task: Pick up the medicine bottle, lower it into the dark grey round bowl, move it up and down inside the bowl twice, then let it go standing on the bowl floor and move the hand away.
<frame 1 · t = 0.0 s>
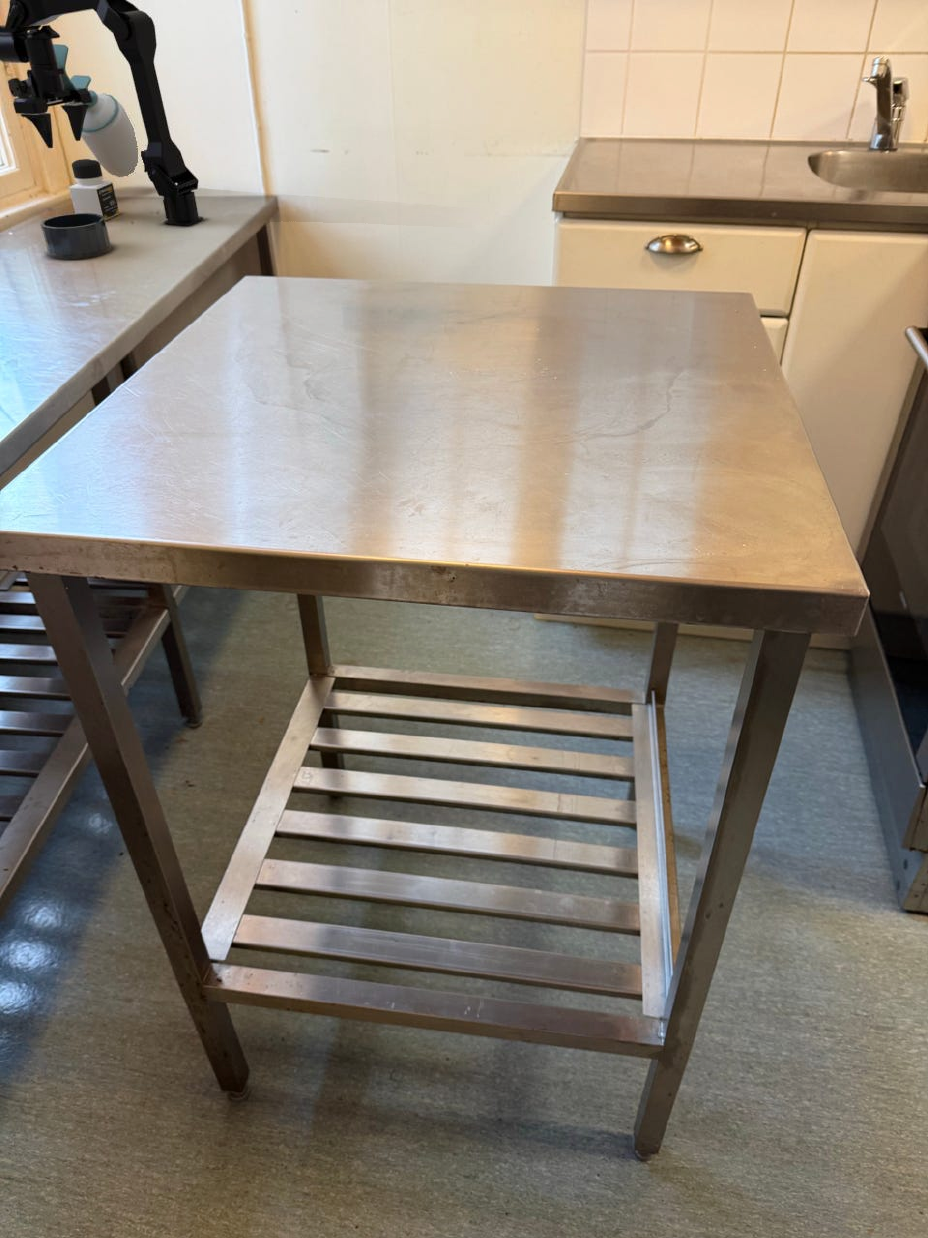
hand: (64, 144, 202), 15 cm above the table, tool pointing down, fingers open, 9 cm apart
medicine bottle: (98, 217, 208), on the table
soap bottle: (129, 163, 226), point 6 cm above the table, touching gripper
dark grey round bowl: (80, 251, 185), on the table
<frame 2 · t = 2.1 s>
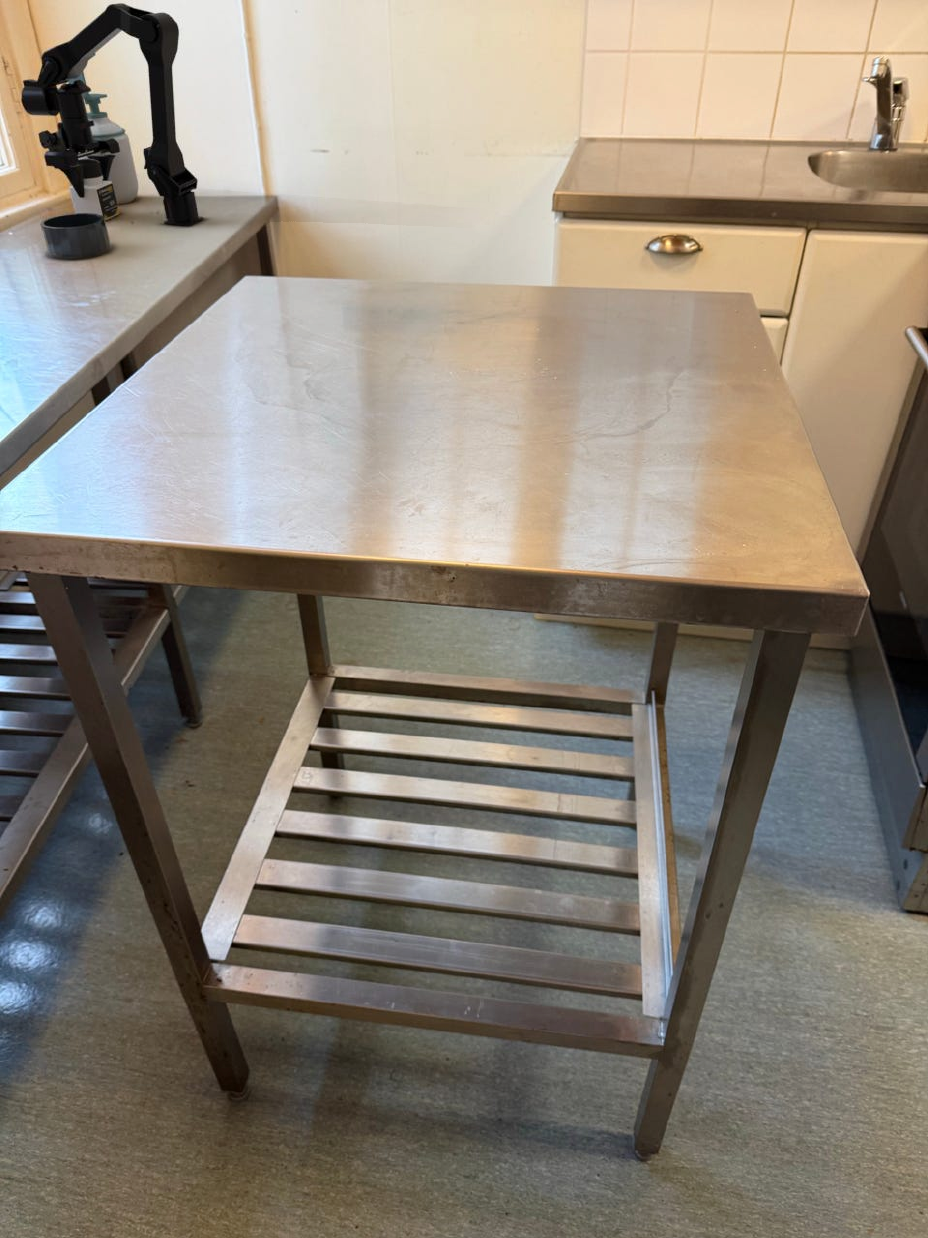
hand: (93, 193, 205), 5 cm above the table, tool pointing down, fingers closed on medicine bottle, 7 cm apart
medicine bottle: (98, 217, 208), on the table, touching gripper
soap bottle: (115, 201, 221), on the table
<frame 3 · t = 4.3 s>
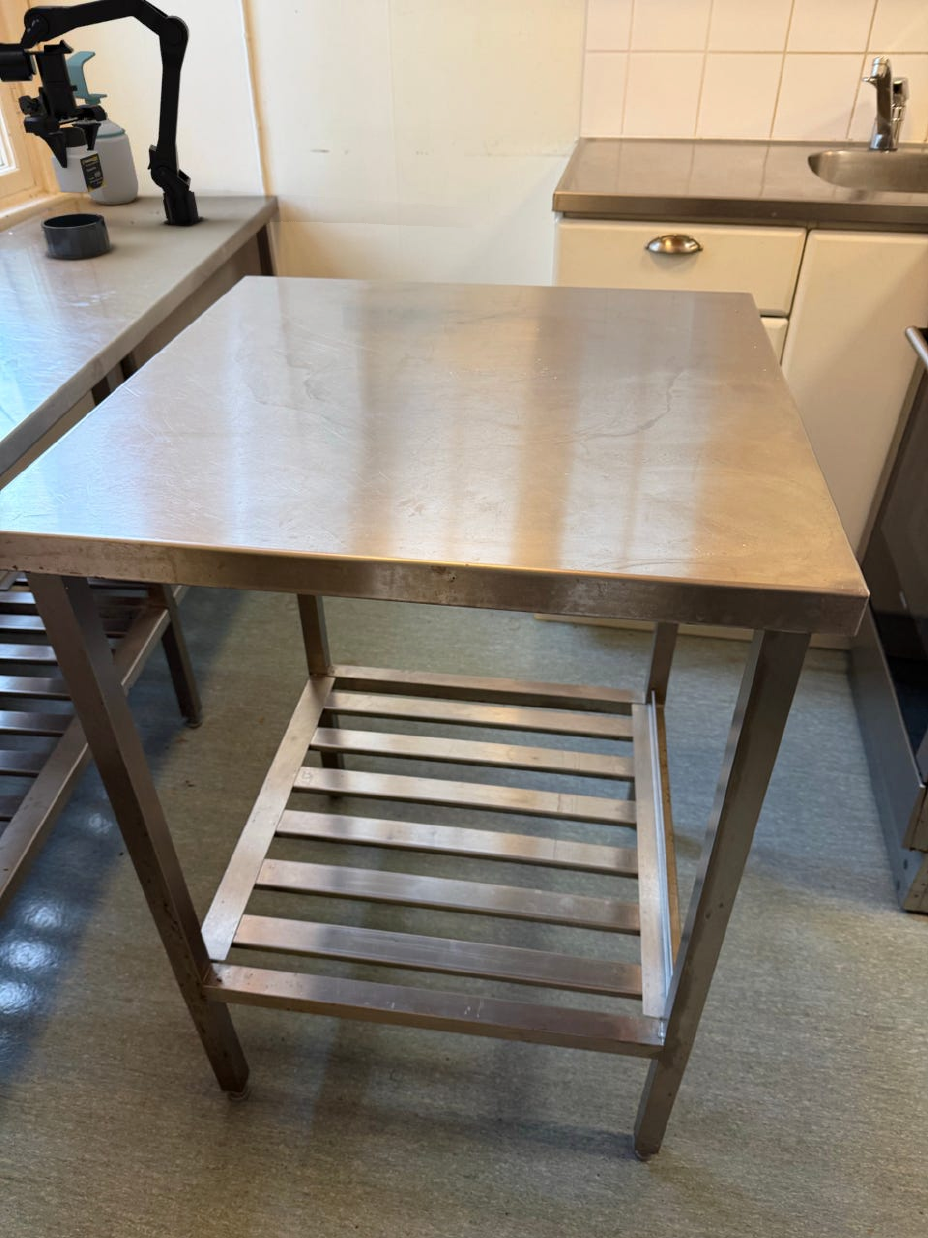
hand: (77, 164, 193), 13 cm above the table, tool pointing down, fingers closed on medicine bottle, 7 cm apart
medicine bottle: (83, 190, 196), point 8 cm above the table, touching gripper
everything else where it was.
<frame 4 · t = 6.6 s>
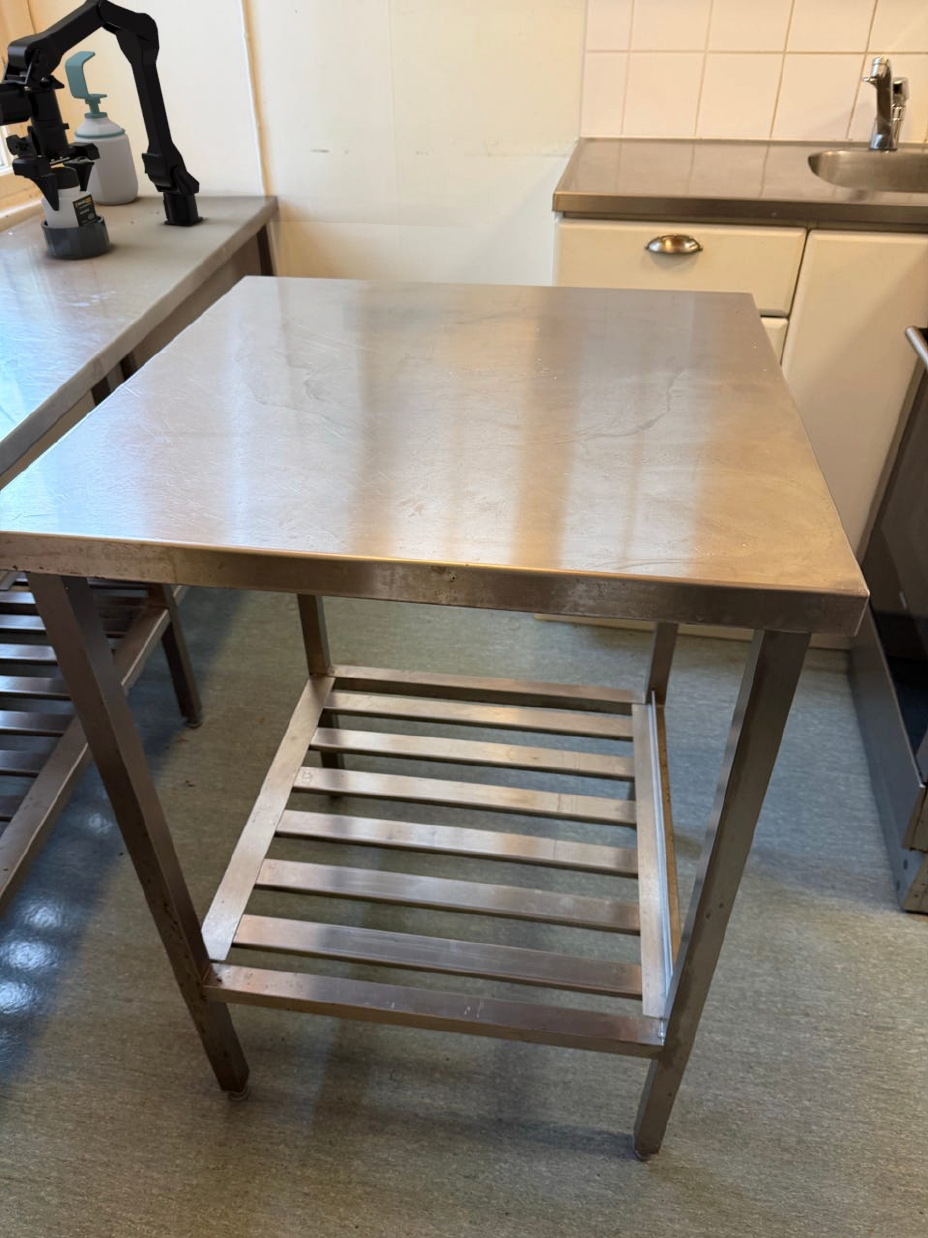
hand: (69, 206, 180), 9 cm above the table, tool pointing down, fingers closed on medicine bottle, 7 cm apart
medicine bottle: (76, 233, 183), point 3 cm above the table, touching gripper
everything else where it was.
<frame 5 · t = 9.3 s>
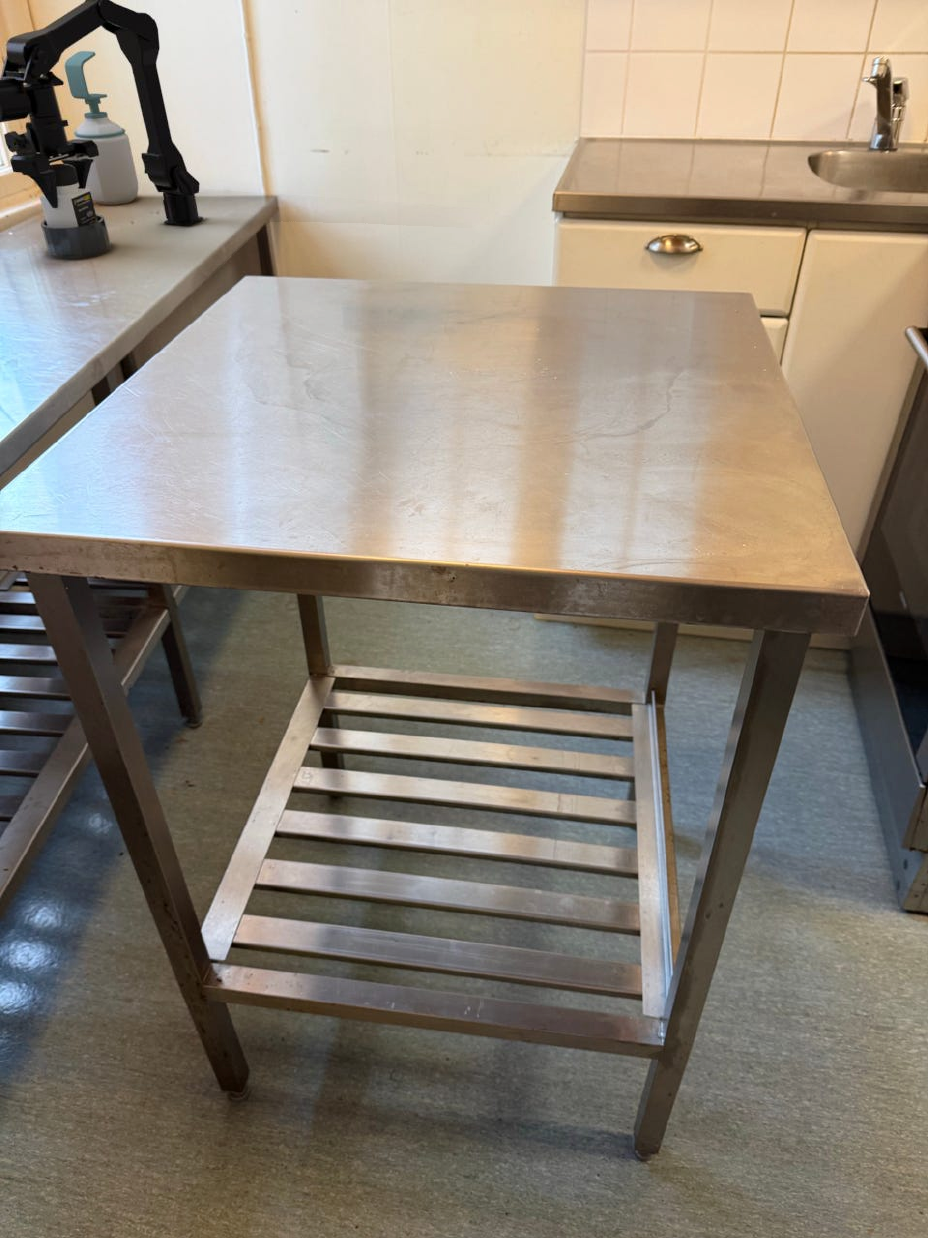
hand: (68, 203, 180), 9 cm above the table, tool pointing down, fingers closed on medicine bottle, 7 cm apart
medicine bottle: (74, 230, 183), point 4 cm above the table, touching gripper
everything else where it was.
when the fingers open (6 cm above the table, at t = 11.3 s): medicine bottle stays where it is, resting on dark grey round bowl.
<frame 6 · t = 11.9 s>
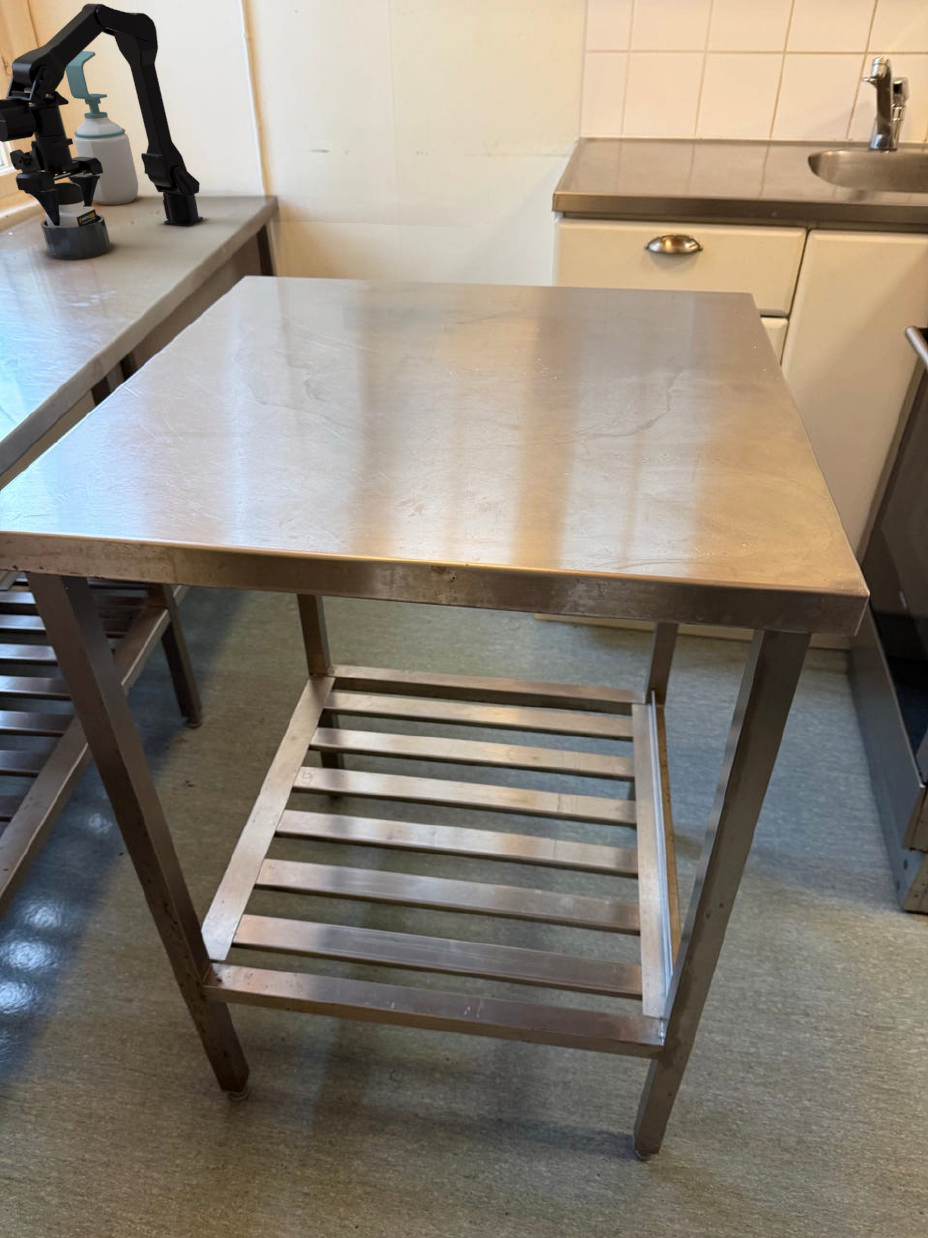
hand: (72, 219, 181), 6 cm above the table, tool pointing down, fingers open, 9 cm apart
medicine bottle: (79, 247, 185), point 1 cm above the table, touching dark grey round bowl
everything else where it was.
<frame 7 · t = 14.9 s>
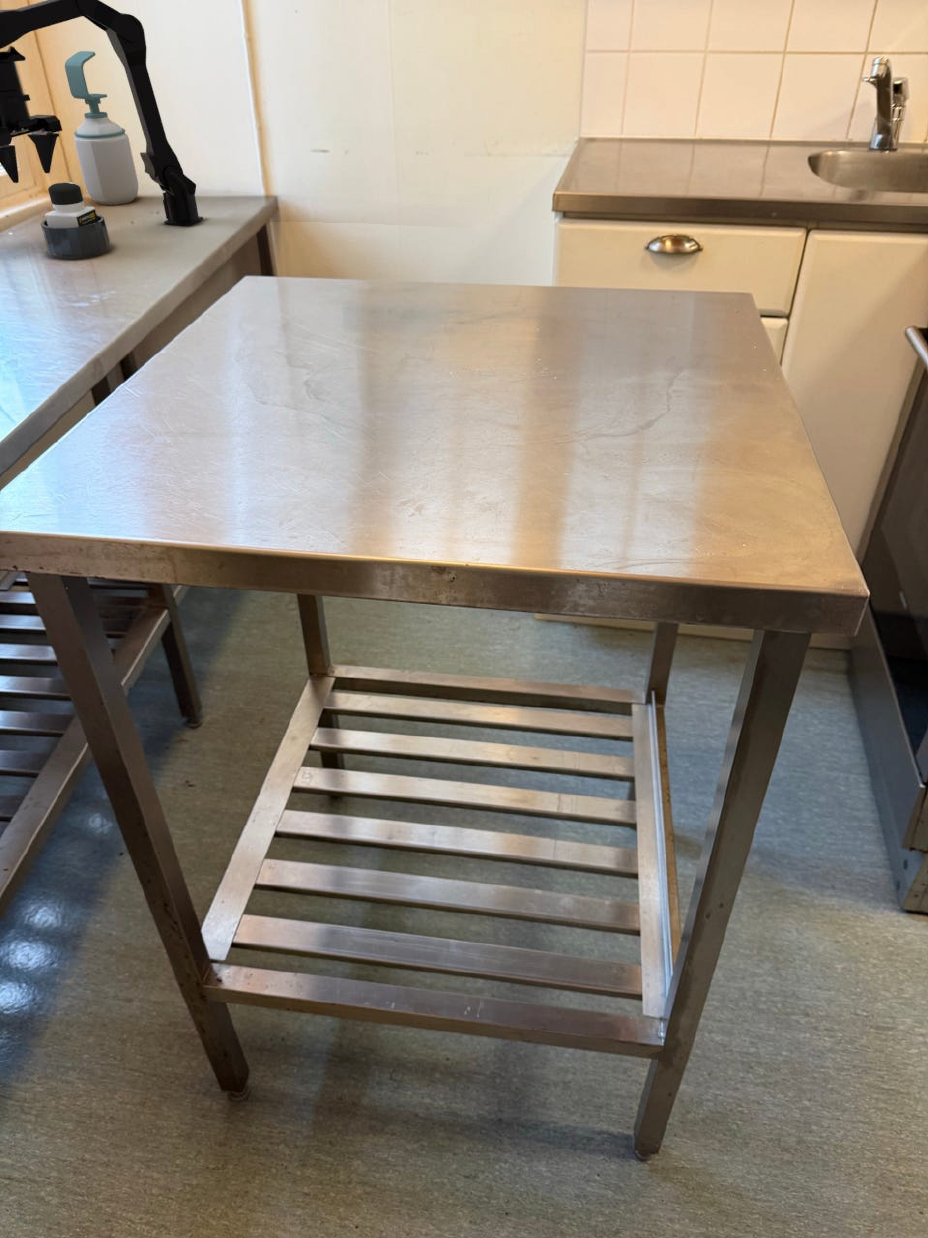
hand: (31, 177, 182), 13 cm above the table, tool pointing down, fingers open, 9 cm apart
nothing on the table moved.
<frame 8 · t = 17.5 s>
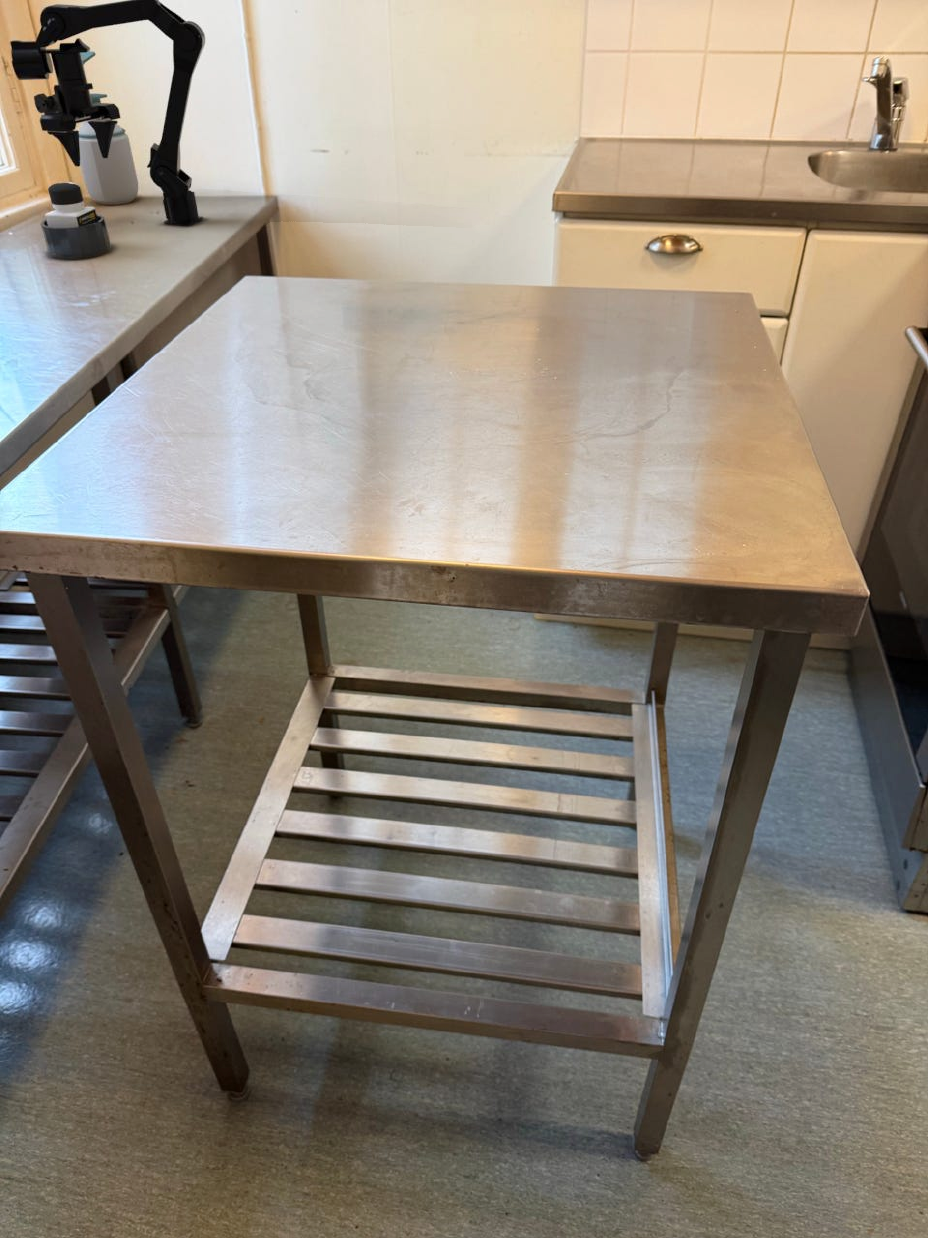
hand: (91, 161, 194), 13 cm above the table, tool pointing down, fingers open, 9 cm apart
nothing on the table moved.
at the end: medicine bottle 0.1 cm off-centre in the dark grey round bowl, point 0.6 cm above the dark grey round bowl's base; medicine bottle tilted 0°; the gripper is holding nothing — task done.
